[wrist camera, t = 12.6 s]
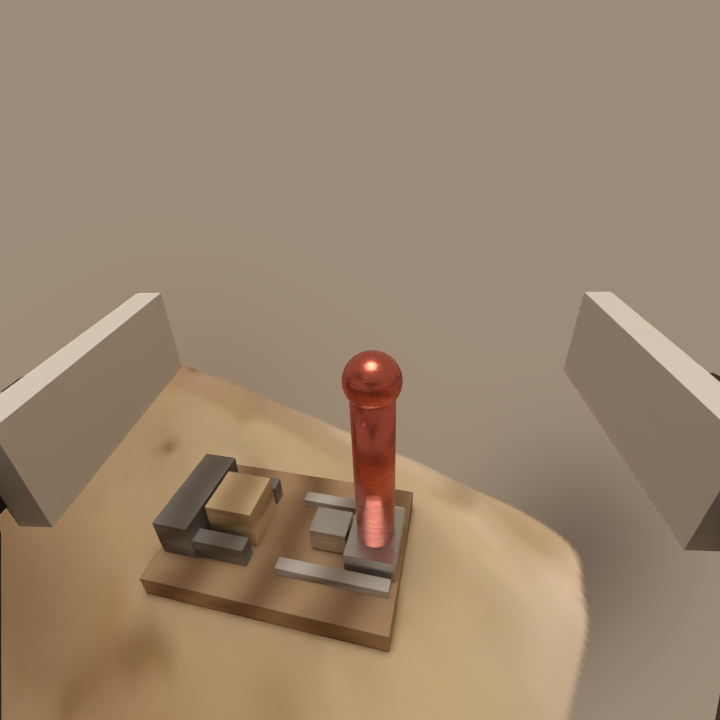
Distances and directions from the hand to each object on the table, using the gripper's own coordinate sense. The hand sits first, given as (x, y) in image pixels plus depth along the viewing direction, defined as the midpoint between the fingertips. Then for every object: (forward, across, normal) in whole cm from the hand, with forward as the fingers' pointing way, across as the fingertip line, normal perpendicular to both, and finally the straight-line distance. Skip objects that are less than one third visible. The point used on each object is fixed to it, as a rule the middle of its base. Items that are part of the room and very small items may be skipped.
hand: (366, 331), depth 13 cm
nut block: (+12, -12, -25) cm, 30 cm away
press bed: (+11, -8, -27) cm, 30 cm away
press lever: (+10, -2, -25) cm, 27 cm away
